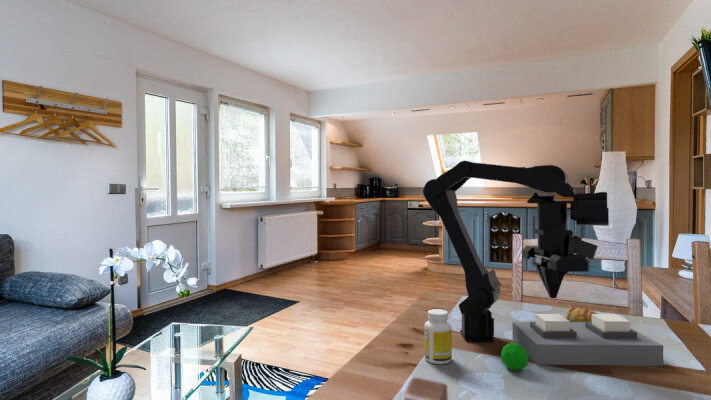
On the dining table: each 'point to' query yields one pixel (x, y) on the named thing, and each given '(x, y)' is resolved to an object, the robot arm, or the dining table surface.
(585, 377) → the dining table surface
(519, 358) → the polyhedron
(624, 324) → the button
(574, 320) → the pastry
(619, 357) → the panel
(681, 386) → the dining table surface
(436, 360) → the supplement bottle
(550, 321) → the button
